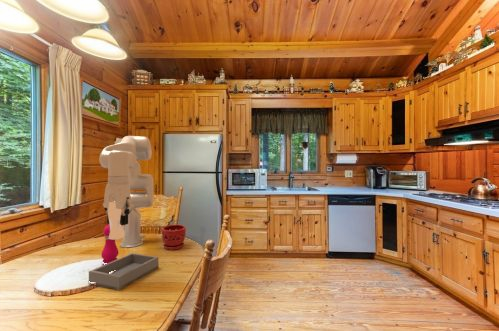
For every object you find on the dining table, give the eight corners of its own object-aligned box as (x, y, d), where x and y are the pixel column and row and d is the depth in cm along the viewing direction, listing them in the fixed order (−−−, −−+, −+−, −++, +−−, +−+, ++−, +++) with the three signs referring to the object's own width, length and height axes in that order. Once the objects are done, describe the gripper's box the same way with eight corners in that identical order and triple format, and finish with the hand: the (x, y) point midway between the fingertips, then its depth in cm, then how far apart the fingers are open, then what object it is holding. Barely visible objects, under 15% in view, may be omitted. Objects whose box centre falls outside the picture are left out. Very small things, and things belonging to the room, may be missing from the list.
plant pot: (158, 247, 143) (158, 226, 143) (179, 242, 152) (179, 223, 152) (167, 253, 133) (167, 231, 133) (189, 248, 142) (189, 227, 142)
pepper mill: (110, 266, 114) (111, 223, 114) (97, 265, 116) (98, 222, 116) (121, 260, 121) (122, 220, 121) (109, 259, 123) (109, 219, 123)
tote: (131, 263, 118) (132, 253, 118) (158, 267, 113) (158, 257, 114) (88, 284, 97) (88, 271, 97) (118, 290, 92) (119, 277, 92)
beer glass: (130, 235, 104) (130, 200, 104) (119, 240, 97) (120, 202, 97) (114, 234, 104) (115, 199, 105) (103, 239, 98) (104, 202, 98)
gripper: (94, 180, 100) (93, 224, 100) (128, 181, 95) (127, 227, 94) (110, 179, 107) (109, 220, 107) (142, 180, 102) (141, 223, 102)
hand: (117, 223), depth 101 cm, fingers closed on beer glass, 6 cm apart
